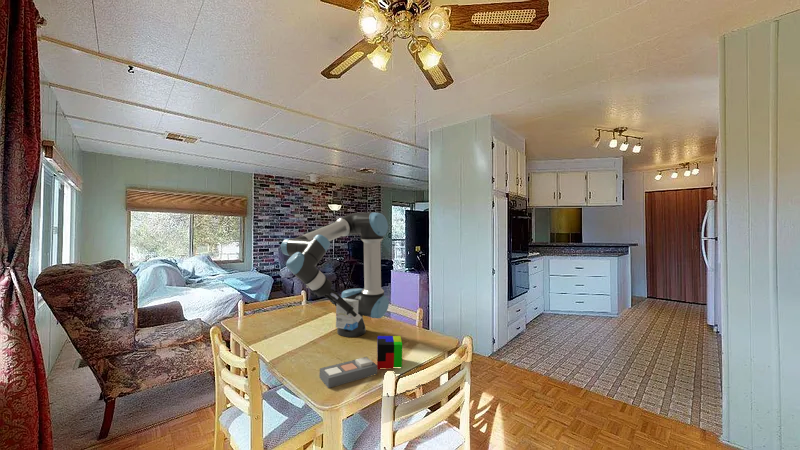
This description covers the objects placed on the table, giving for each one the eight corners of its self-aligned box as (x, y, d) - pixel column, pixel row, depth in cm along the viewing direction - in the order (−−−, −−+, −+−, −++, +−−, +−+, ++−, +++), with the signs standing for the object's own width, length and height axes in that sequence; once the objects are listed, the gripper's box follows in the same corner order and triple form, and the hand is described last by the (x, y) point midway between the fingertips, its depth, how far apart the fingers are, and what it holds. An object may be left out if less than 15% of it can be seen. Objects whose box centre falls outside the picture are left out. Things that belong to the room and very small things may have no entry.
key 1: (336, 373, 121) (336, 366, 121) (342, 378, 117) (342, 371, 117) (324, 376, 118) (324, 369, 118) (329, 382, 114) (329, 375, 114)
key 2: (366, 362, 128) (366, 356, 128) (372, 367, 124) (372, 361, 124) (355, 365, 126) (355, 359, 126) (360, 370, 122) (361, 364, 122)
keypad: (366, 365, 131) (366, 357, 131) (377, 374, 123) (377, 365, 123) (319, 377, 120) (319, 368, 120) (328, 388, 112) (328, 378, 112)
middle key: (351, 369, 125) (352, 362, 125) (357, 374, 121) (357, 367, 121) (340, 372, 122) (340, 365, 122) (345, 377, 118) (345, 371, 118)
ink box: (358, 327, 134) (359, 299, 134) (352, 330, 130) (352, 302, 130) (341, 324, 138) (342, 297, 138) (335, 327, 133) (335, 299, 133)
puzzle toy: (377, 359, 137) (377, 336, 137) (399, 358, 138) (400, 336, 138) (377, 369, 127) (377, 344, 127) (401, 369, 128) (402, 344, 128)
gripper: (303, 286, 134) (337, 316, 143) (323, 296, 116) (360, 331, 125) (315, 272, 137) (348, 303, 146) (336, 281, 119) (372, 316, 128)
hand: (354, 316), depth 136 cm, fingers closed on ink box, 10 cm apart
